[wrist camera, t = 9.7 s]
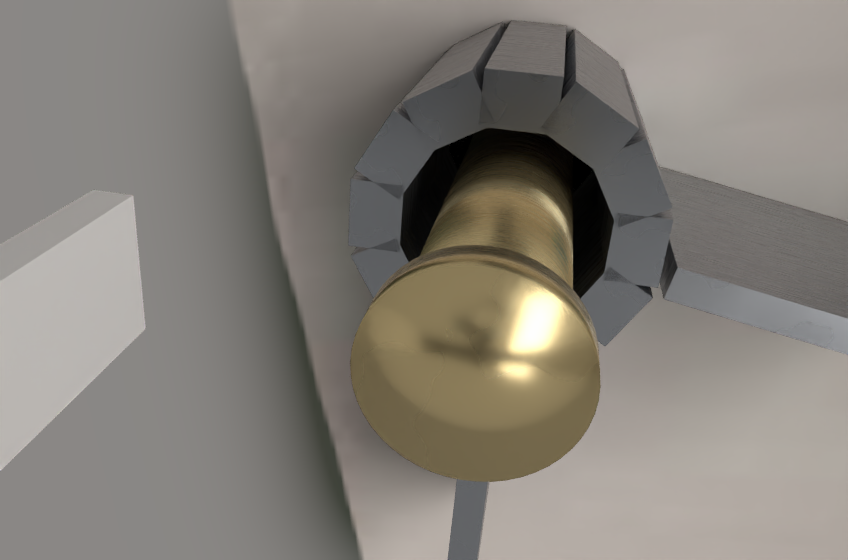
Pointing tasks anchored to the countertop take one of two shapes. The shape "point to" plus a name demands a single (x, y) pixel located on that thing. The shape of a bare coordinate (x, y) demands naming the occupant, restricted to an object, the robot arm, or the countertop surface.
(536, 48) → the hinge leaf fixed
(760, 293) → the hinge leaf swing
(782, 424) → the countertop surface
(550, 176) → the pin
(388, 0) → the countertop surface
